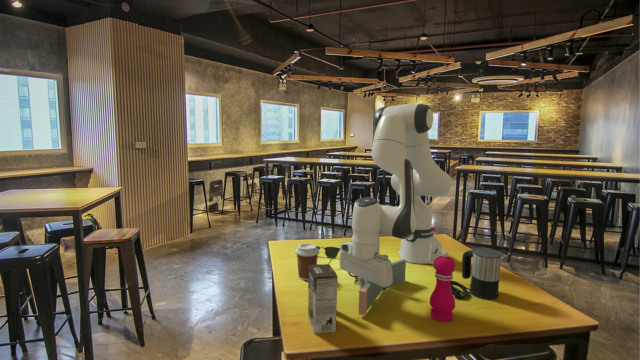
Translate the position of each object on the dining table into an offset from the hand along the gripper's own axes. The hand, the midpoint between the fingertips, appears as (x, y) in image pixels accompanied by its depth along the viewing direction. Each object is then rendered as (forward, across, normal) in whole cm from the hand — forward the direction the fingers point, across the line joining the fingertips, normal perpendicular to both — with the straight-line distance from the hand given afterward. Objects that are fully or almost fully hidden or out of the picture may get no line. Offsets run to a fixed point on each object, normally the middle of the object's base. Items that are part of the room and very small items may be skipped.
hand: (364, 290), depth 115 cm
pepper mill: (+4, -22, -10) cm, 24 cm away
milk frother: (+4, -20, -32) cm, 38 cm away
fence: (+4, +2, -5) cm, 6 cm away
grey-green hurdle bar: (+2, -3, -1) cm, 4 cm away
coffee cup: (+4, +27, +3) cm, 27 cm away
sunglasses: (+4, +36, -10) cm, 38 cm away
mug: (+4, +13, -12) cm, 18 cm away
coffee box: (+3, -3, +20) cm, 21 cm away
